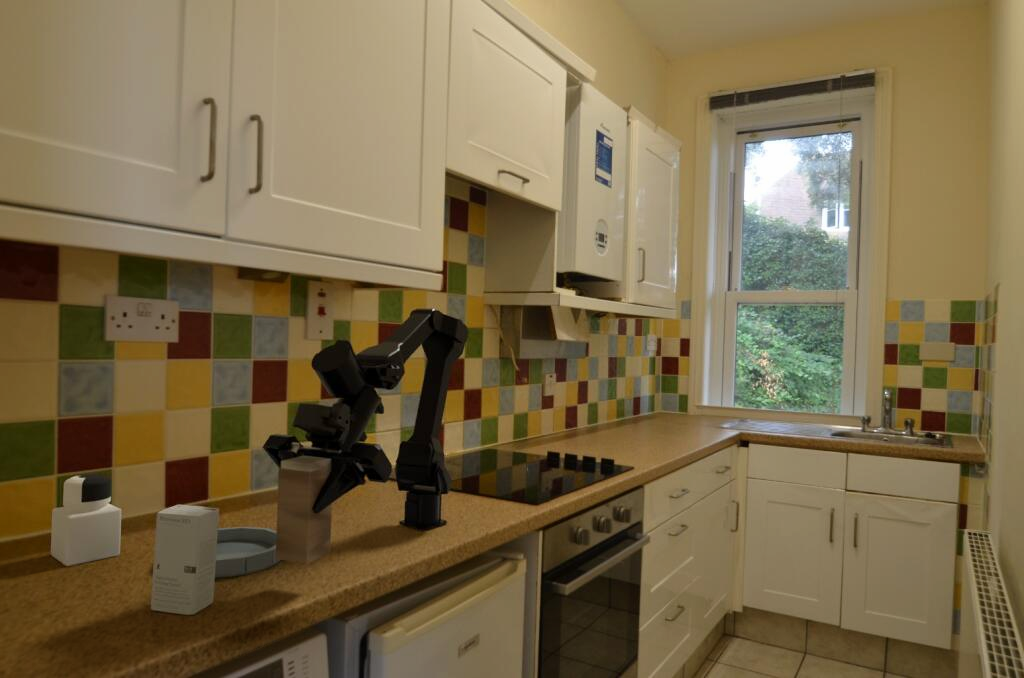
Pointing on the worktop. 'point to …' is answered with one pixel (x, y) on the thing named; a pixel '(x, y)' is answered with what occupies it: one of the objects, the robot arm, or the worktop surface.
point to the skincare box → (184, 559)
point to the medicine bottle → (86, 521)
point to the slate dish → (244, 550)
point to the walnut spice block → (302, 510)
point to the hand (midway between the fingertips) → (298, 509)
